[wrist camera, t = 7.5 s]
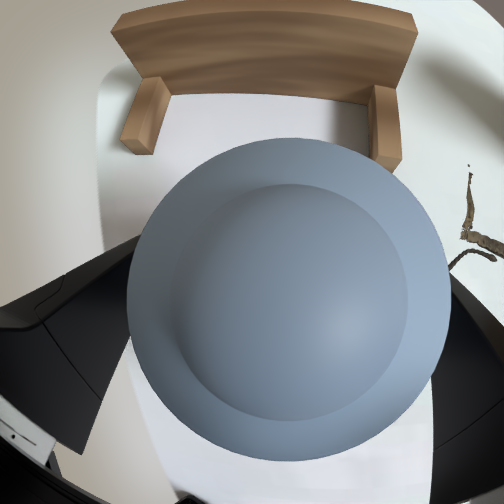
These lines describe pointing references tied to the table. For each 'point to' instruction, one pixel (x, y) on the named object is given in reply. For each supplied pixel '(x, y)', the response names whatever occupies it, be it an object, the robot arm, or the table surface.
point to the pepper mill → (288, 299)
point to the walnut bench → (268, 59)
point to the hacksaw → (477, 235)
